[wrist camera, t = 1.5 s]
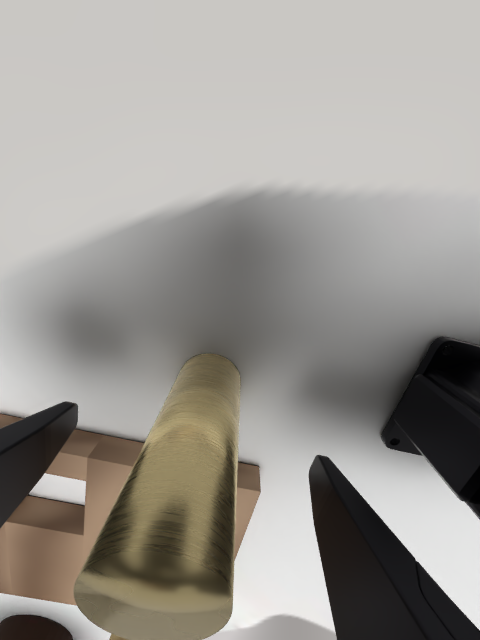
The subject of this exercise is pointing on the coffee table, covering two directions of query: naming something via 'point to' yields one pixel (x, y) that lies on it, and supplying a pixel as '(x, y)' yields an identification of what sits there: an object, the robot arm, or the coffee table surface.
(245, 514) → the pin board
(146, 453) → the brass pin
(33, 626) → the coffee mug
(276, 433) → the coffee table surface
